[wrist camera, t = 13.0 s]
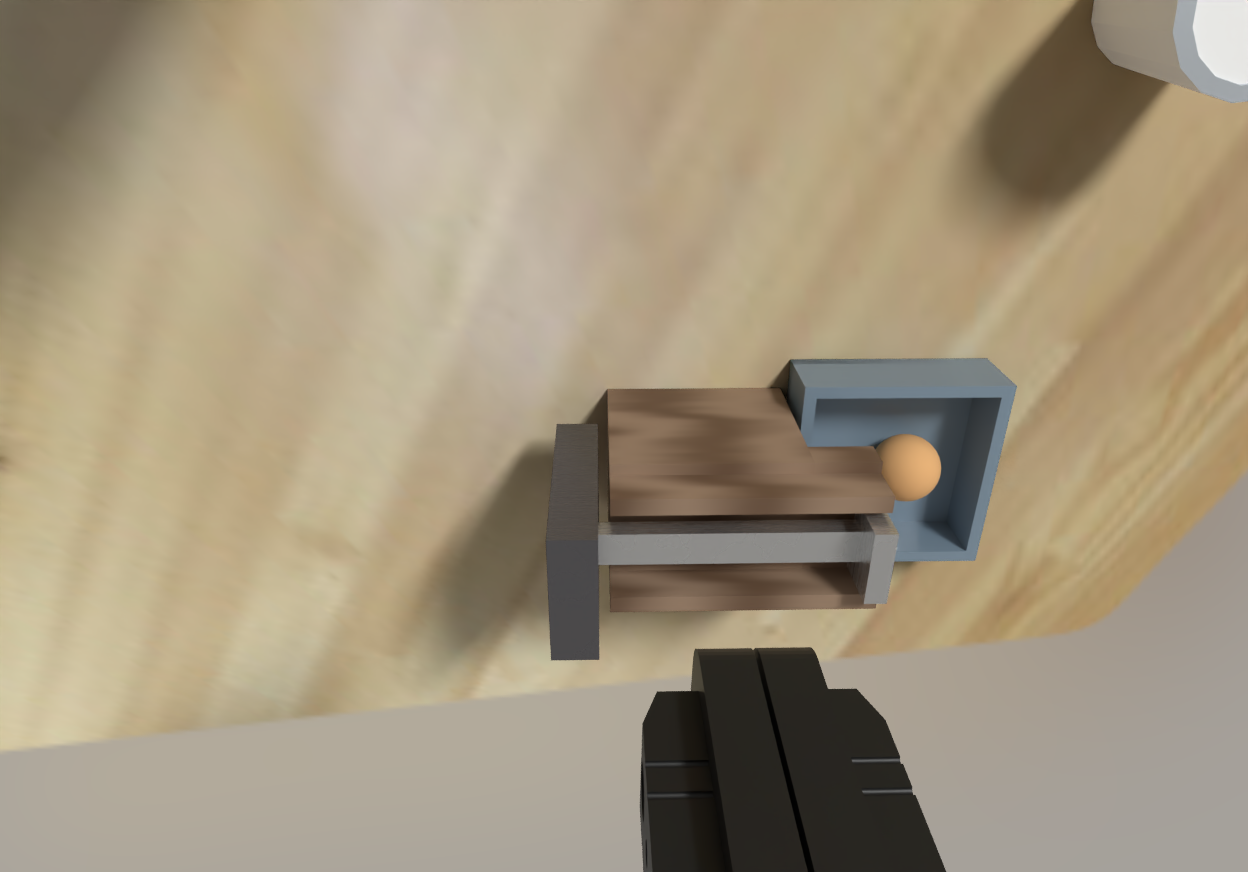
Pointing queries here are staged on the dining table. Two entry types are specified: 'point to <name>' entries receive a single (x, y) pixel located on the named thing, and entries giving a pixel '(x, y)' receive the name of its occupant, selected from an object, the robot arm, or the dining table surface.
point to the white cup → (1179, 42)
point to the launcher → (730, 495)
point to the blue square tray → (923, 406)
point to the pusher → (678, 545)
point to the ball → (909, 466)
